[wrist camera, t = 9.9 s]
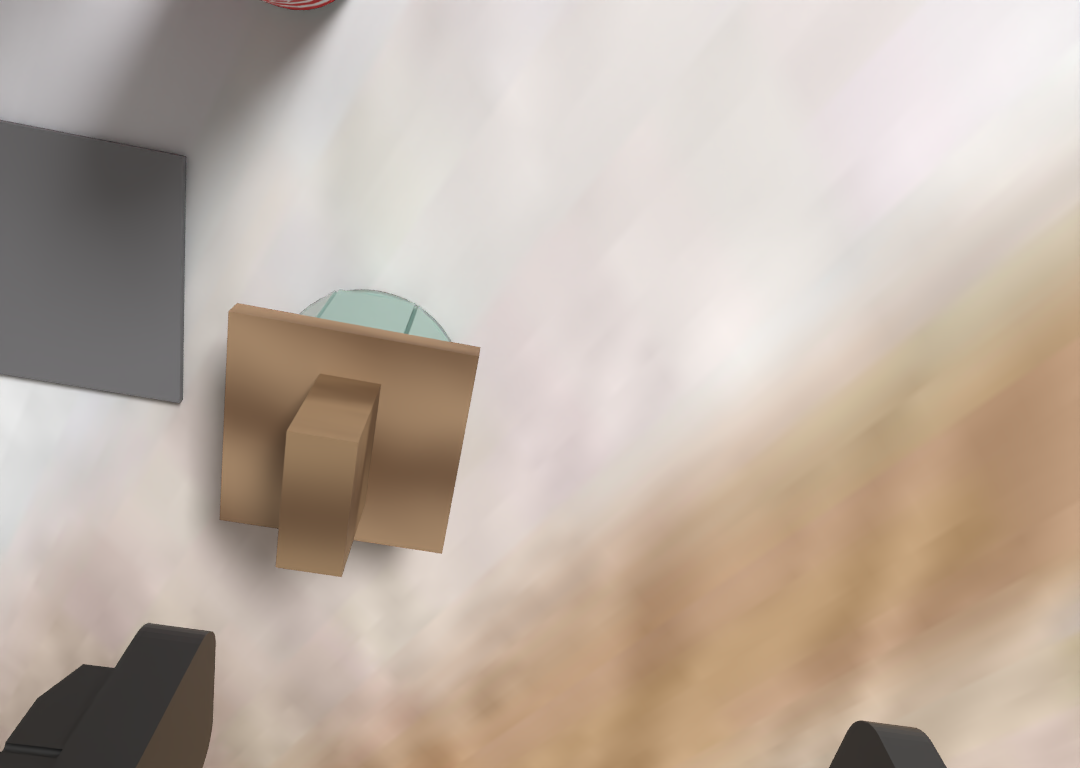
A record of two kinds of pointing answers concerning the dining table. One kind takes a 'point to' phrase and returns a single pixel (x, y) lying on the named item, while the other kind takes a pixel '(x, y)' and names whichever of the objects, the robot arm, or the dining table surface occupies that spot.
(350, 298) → the bowl
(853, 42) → the dining table surface
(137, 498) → the dining table surface
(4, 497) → the dining table surface
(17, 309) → the mat
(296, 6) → the beverage can
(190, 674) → the robot arm
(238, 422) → the lid
